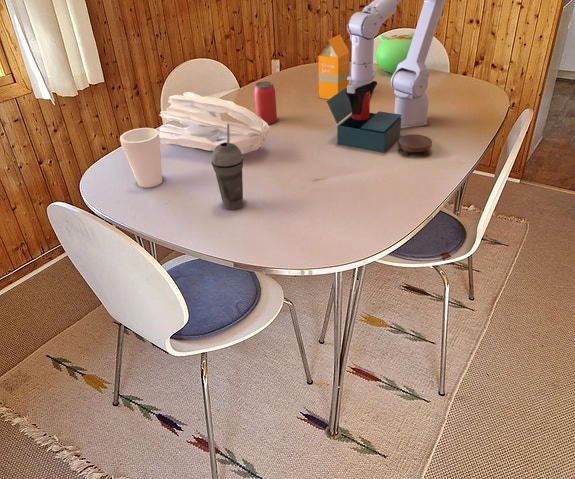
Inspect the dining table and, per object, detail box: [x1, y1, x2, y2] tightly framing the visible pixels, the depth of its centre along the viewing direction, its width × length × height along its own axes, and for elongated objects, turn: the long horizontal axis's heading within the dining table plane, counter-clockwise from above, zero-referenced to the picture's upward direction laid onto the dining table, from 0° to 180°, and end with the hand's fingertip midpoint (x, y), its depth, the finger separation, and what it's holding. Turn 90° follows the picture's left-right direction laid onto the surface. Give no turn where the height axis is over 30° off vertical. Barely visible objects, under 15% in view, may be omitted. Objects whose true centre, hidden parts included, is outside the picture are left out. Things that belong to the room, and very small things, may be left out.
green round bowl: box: [375, 31, 415, 74], centre depth 191 cm, size 18×17×15 cm
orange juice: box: [318, 33, 351, 100], centre depth 171 cm, size 8×9×20 cm
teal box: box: [336, 110, 402, 154], centre depth 141 cm, size 14×13×7 cm
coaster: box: [397, 133, 433, 156], centre depth 135 cm, size 9×9×4 cm
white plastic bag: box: [158, 91, 270, 155], centre depth 140 cm, size 17×18×35 cm
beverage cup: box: [210, 124, 244, 211], centre depth 112 cm, size 7×7×20 cm
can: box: [351, 88, 371, 120], centre depth 138 cm, size 5×5×8 cm
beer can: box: [253, 80, 278, 125], centre depth 157 cm, size 7×7×12 cm
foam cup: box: [119, 127, 163, 189], centre depth 126 cm, size 10×9×13 cm
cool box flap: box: [326, 87, 352, 124], centre depth 142 cm, size 7×13×1 cm
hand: (360, 110), depth 140 cm, fingers closed on can, 5 cm apart
